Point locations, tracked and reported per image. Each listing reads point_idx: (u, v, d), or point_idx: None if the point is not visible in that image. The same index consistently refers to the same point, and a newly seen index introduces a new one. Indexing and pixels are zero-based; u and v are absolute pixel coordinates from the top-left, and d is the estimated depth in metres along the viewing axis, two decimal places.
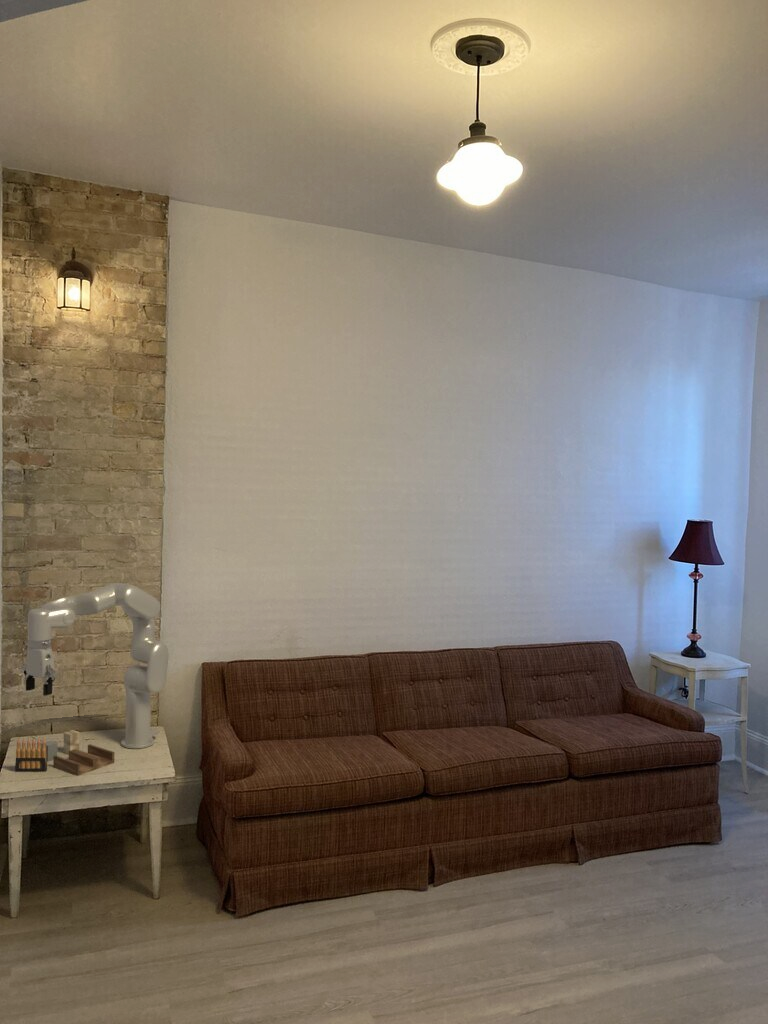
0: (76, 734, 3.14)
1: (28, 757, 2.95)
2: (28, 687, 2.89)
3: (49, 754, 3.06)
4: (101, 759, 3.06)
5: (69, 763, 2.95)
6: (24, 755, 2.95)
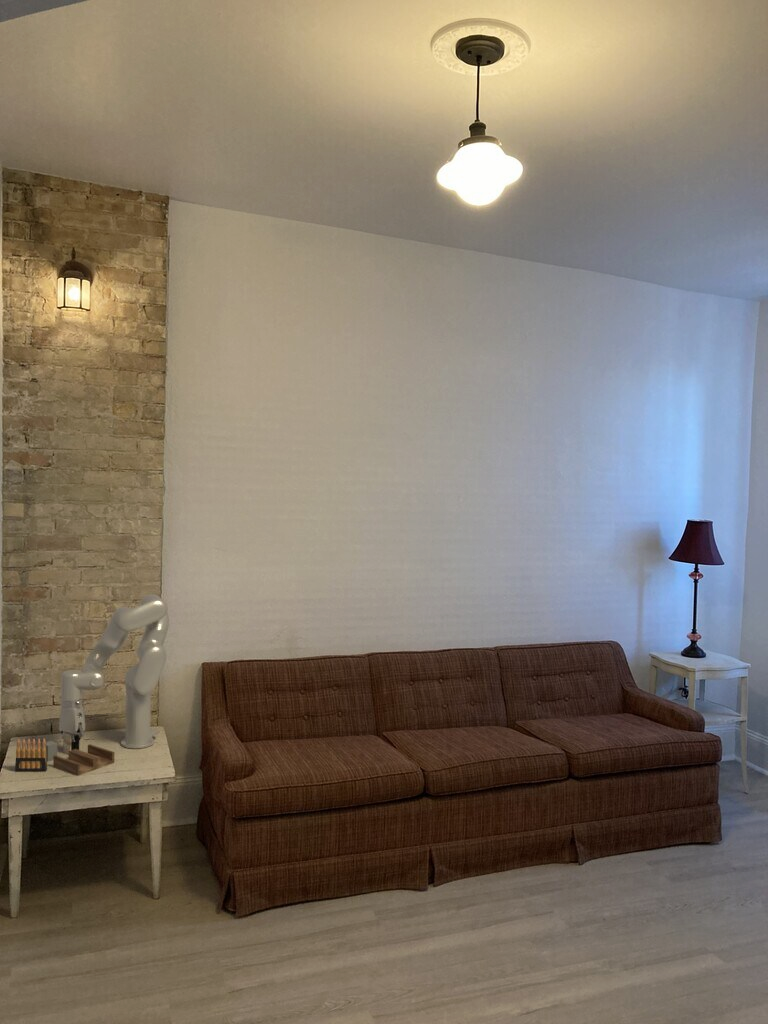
0: None
1: (28, 756, 2.95)
2: None
3: (49, 754, 3.06)
4: (101, 759, 3.06)
5: (69, 763, 2.95)
6: (24, 755, 2.95)
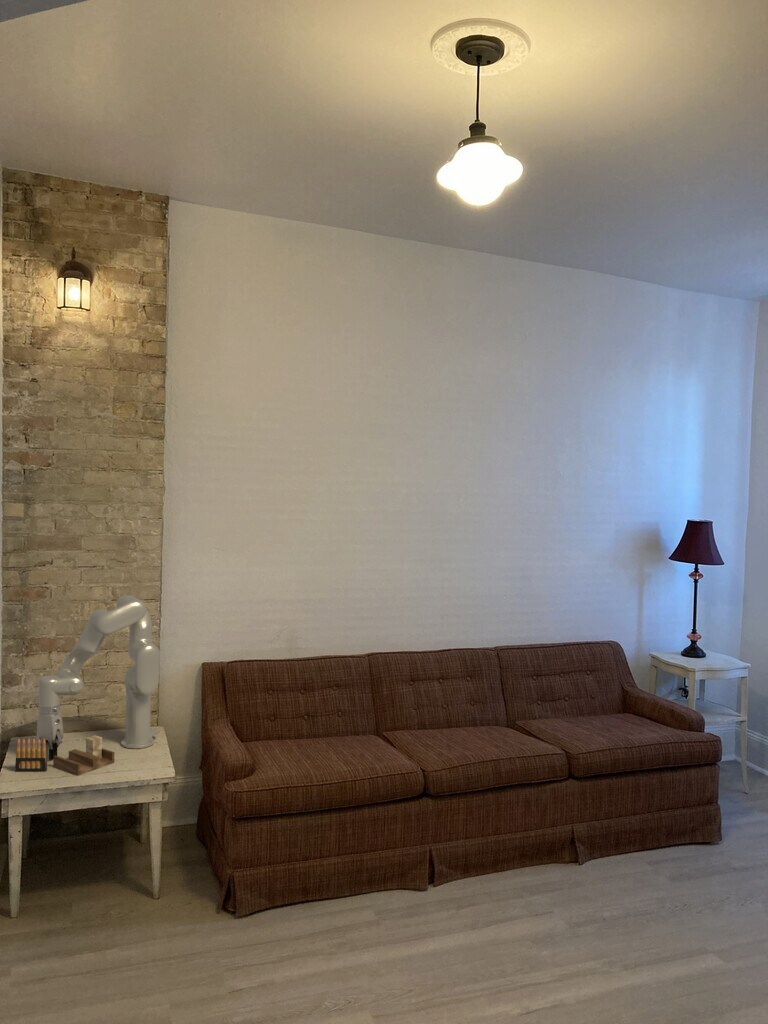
0: (99, 740, 3.06)
1: (28, 757, 2.95)
2: None
3: None
4: (101, 759, 3.06)
5: (69, 763, 2.95)
6: (24, 755, 2.95)
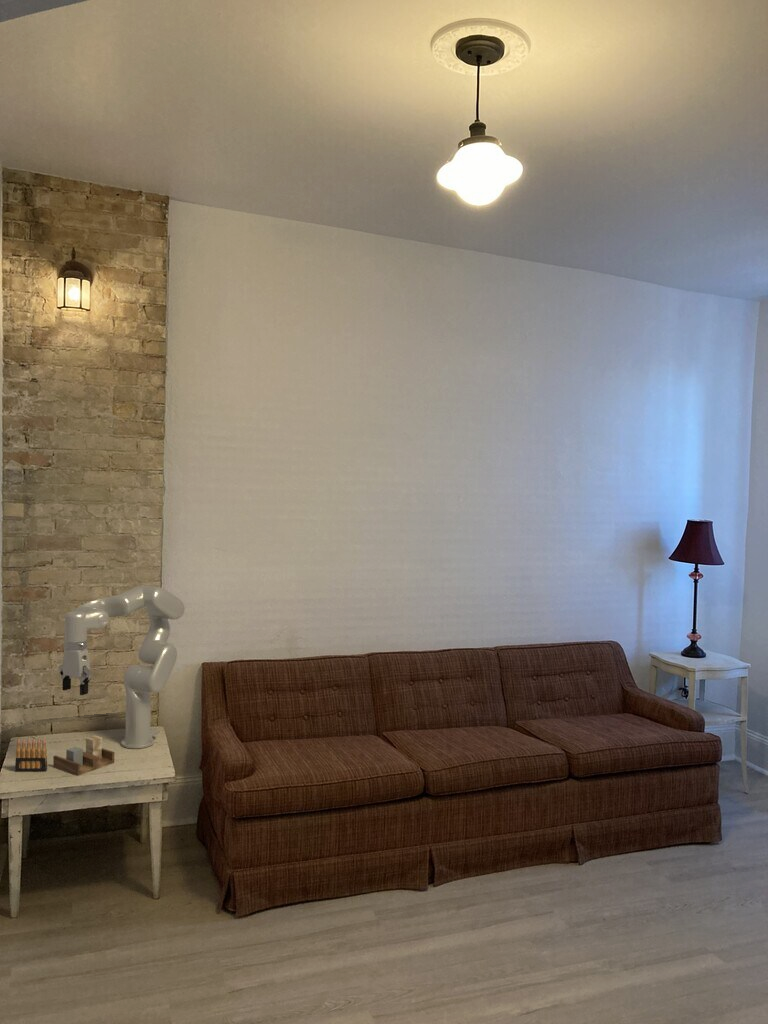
0: (99, 740, 3.06)
1: (28, 757, 2.95)
2: (65, 687, 3.00)
3: (75, 760, 2.98)
4: (101, 759, 3.06)
5: (69, 763, 2.95)
6: (24, 755, 2.95)
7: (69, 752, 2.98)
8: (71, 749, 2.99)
